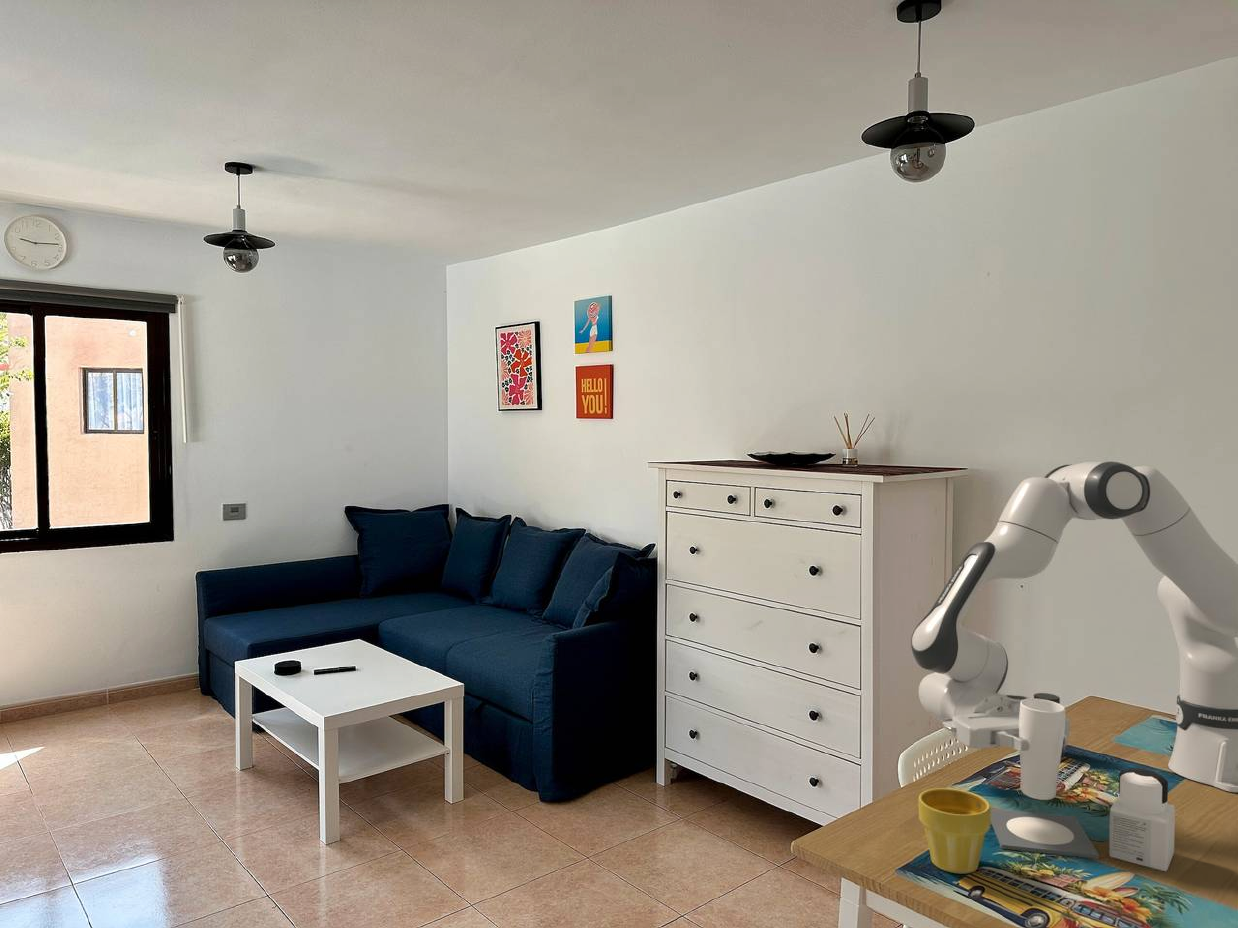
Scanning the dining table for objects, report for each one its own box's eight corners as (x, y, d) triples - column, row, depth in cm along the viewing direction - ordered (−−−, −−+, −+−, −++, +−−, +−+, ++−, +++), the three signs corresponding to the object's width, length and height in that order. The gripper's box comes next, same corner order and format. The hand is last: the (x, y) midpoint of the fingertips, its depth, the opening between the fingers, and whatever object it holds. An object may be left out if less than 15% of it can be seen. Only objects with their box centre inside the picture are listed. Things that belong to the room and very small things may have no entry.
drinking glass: (1066, 805, 140) (1071, 713, 139) (1021, 801, 141) (1026, 710, 140) (1053, 787, 146) (1058, 699, 145) (1010, 783, 148) (1015, 696, 147)
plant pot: (903, 855, 136) (903, 793, 136) (953, 842, 140) (954, 782, 140) (953, 886, 127) (954, 819, 127) (1005, 872, 131) (1006, 807, 131)
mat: (1075, 820, 149) (1075, 816, 149) (1099, 858, 135) (1099, 854, 135) (986, 811, 152) (987, 808, 152) (1001, 848, 139) (1001, 844, 138)
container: (1118, 839, 142) (1119, 760, 141) (1174, 853, 137) (1176, 771, 136) (1108, 857, 136) (1110, 774, 135) (1166, 872, 131) (1168, 787, 130)
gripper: (936, 704, 153) (990, 730, 139) (1034, 695, 158) (1095, 719, 145) (936, 740, 153) (989, 769, 140) (1033, 729, 158) (1094, 757, 145)
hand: (1044, 743), depth 142 cm, fingers closed on drinking glass, 6 cm apart
